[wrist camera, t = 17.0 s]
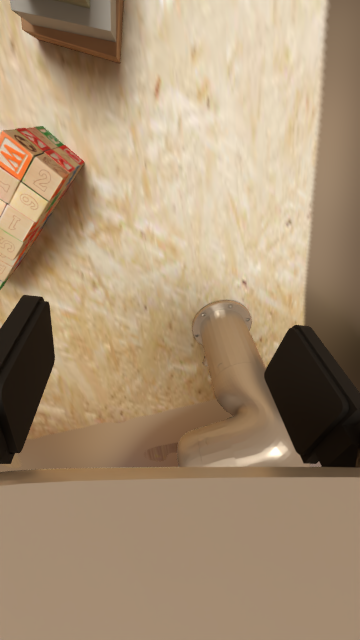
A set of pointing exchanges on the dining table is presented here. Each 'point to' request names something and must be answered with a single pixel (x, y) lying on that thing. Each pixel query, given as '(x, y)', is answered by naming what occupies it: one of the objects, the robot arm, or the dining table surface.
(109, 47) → the tower base
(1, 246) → the stack of blocks
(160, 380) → the dining table surface
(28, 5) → the tower top
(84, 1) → the sage block
